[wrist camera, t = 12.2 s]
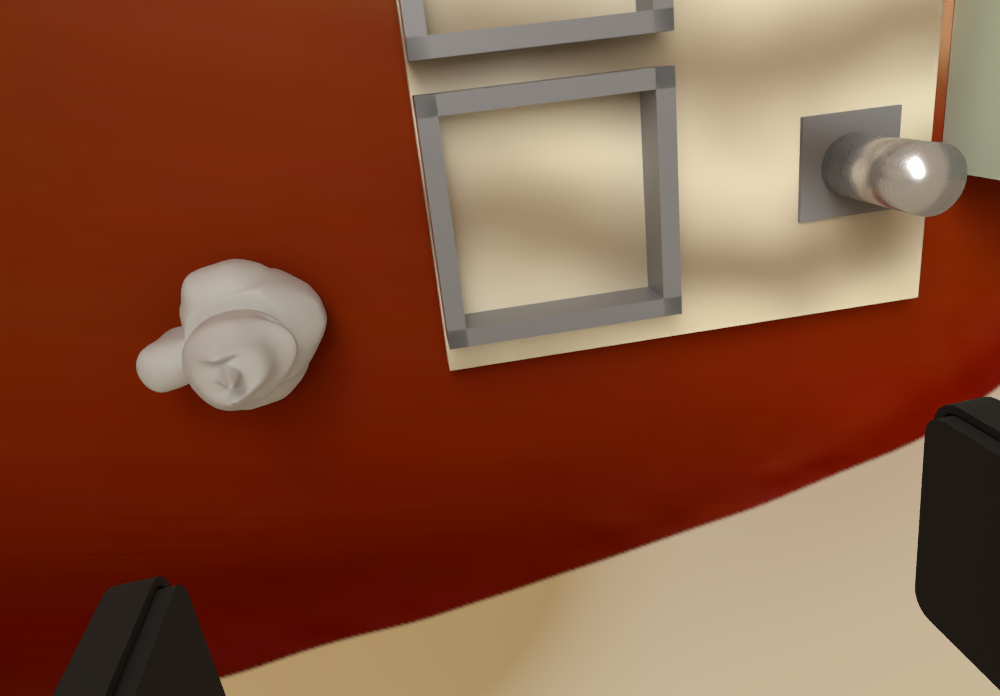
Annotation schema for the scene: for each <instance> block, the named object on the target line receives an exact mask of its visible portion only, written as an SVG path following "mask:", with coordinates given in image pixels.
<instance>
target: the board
mask: <svg viewBox="0 0 1000 696" xmlns="http://www.w3.org/2000/svg"><path fill="white" fill-rule="evenodd" d="M673 4H674V30H673V31H667V32H660V33H653V34H644V35H636V36H627V37H618V38H610V39H601V40H593V41H584V42H575V43H567V44H558V45H550V46H541V47H532V48H524V49H515V50H507V51H498V52H489V53H481V54H472V55H464V56H455V57H446V58H438V59H429V60H421V61H412V62H407V58H406V51H405V44H404V37H403V30H402V23H401V16H400V9H399V2H398V0H396V6H397V13H398V20H399V27H400V34H401V41H402V48H403V55H404V62H405V69H406V76H407V82H408V89H409V96H410V103H411V110H412V117H413V124H414V131H415V138H416V145H417V152H418V159H419V166H420V173H421V180H422V186H423V193H424V200H425V207H426V214H427V221H428V228H429V235H430V242H431V249H432V256H433V263H434V270H435V277H436V283H437V290H438V297H439V304H440V311H441V318H442V325H443V332H444V339H445V346H446V353H447V360H448V364H449V369H450V371H453V370H459V369H466V368H472V367H478V366H485V365H491V364H497V363H504V362H510V361H516V360H523V359H529V358H535V357H542V356H548V355H554V354H561V353H567V352H573V351H580V350H586V349H593V348H599V347H605V346H612V345H618V344H624V343H631V342H637V341H643V340H650V339H656V338H662V337H669V336H675V335H681V334H688V333H694V332H700V331H707V330H713V329H720V328H726V327H732V326H739V325H745V324H751V323H758V322H764V321H770V320H777V319H783V318H789V317H796V316H802V315H808V314H815V313H821V312H827V311H834V310H840V309H847V308H853V307H859V306H866V305H872V304H878V303H885V302H891V301H897V300H904V299H910V298H916V297H918V290H919V279H920V267H921V256H922V244H923V232H924V221H925V217H922V216H917V215H914V214H910V213H906V212H902V211H898V210H894V209H891V208H887V207H883V206H879V205H875V204H872V203H868V202H864V201H860V200H856V199H852V198H849V197H845V196H841V195H837V194H835V193H833V192H831V191H830V190H829V189H828V188H827V187H826V185H825V184H824V181H823V179H822V174H821V166H822V161H823V157H824V155H825V153H826V151H827V149H828V148H829V147H830V145H831V144H832V143H833V142H834V141H835V140H837V139H838V138H839V137H841V136H843V135H845V134H849V133H864V134H873V135H881V136H889V137H898V138H906V139H914V140H922V141H931V140H932V128H933V116H934V105H935V93H936V82H937V70H938V58H939V47H940V35H941V23H942V12H943V0H673ZM423 6H424V13H425V21H426V29H427V35H436V34H444V33H453V32H462V31H471V30H480V29H489V28H497V27H506V26H515V25H524V24H533V23H542V22H551V21H559V20H568V19H577V18H586V17H595V16H604V15H612V14H621V13H630V12H636V0H423ZM669 65H675V77H676V113H677V149H678V186H679V222H680V259H681V295H682V314H677V315H671V316H664V317H658V318H651V319H645V320H638V321H632V322H625V323H619V324H613V325H606V326H600V327H593V328H587V329H580V330H574V331H567V332H561V333H554V334H548V335H541V336H535V337H529V338H522V339H516V340H509V341H503V342H496V343H490V344H483V345H477V346H470V347H464V348H457V349H451V350H450V348H449V344H448V340H447V336H446V330H445V323H444V316H443V309H442V302H441V295H440V288H439V281H438V274H437V267H436V260H435V253H434V246H433V239H432V232H431V225H430V218H429V211H428V204H427V197H426V190H425V183H424V176H423V169H422V162H421V155H420V148H419V141H418V134H417V127H416V121H415V114H414V107H413V100H412V95H420V94H428V93H437V92H445V91H453V90H462V89H470V88H478V87H486V86H495V85H503V84H511V83H520V82H528V81H536V80H544V79H553V78H561V77H569V76H578V75H586V74H594V73H602V72H611V71H619V70H627V69H636V68H644V67H652V66H669ZM438 119H439V126H440V134H441V141H442V149H443V157H444V164H445V172H446V179H447V187H448V194H449V202H450V209H451V217H452V224H453V232H454V239H455V247H456V254H457V262H458V269H459V277H460V284H461V292H462V300H463V307H464V314H468V313H475V312H482V311H488V310H495V309H502V308H508V307H515V306H522V305H528V304H535V303H542V302H548V301H555V300H562V299H568V298H575V297H582V296H588V295H595V294H602V293H608V292H615V291H622V290H628V289H635V288H641V287H648V275H647V252H646V229H645V206H644V183H643V160H642V137H641V114H640V91H639V92H631V93H623V94H615V95H607V96H599V97H591V98H583V99H575V100H567V101H559V102H550V103H542V104H534V105H526V106H518V107H510V108H502V109H494V110H486V111H478V112H470V113H462V114H454V115H445V116H438Z"/></svg>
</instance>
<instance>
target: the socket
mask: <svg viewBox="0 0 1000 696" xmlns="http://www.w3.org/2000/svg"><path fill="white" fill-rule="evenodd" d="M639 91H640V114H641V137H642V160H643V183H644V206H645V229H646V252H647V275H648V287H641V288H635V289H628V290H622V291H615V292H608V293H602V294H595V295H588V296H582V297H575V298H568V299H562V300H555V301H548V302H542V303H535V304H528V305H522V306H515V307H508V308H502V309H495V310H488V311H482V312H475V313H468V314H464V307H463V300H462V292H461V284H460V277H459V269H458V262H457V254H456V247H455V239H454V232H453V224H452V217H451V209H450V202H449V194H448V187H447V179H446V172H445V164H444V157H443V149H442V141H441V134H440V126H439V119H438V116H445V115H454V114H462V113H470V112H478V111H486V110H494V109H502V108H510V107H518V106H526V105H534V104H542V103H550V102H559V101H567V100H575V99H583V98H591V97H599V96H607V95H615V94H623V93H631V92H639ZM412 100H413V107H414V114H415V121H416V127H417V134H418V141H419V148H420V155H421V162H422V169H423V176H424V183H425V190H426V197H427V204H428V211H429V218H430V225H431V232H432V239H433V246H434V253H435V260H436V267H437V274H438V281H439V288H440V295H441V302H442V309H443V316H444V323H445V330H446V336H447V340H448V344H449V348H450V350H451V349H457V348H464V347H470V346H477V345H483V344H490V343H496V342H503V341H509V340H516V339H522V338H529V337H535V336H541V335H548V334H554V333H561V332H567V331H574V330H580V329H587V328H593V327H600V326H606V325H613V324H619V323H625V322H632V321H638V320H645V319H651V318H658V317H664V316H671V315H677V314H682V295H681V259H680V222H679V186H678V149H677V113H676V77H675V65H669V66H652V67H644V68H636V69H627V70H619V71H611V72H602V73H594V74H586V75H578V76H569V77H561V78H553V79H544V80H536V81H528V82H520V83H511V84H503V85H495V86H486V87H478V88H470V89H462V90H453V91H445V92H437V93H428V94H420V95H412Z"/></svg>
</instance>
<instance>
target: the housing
mask: <svg viewBox="0 0 1000 696" xmlns="http://www.w3.org/2000/svg"><path fill="white" fill-rule="evenodd" d="M942 143H946V144H950V145H953V146H954V147H956V148H957V149H958V150H960V152H961V153H962V154H963V156H964V158H965V160H966V164H967V175H972V176H978V177H984V178H990V179H996V180H1000V0H955V7H954V18H953V29H952V40H951V51H950V63H949V74H948V85H947V96H946V108H945V119H944V130H943V141H942Z"/></svg>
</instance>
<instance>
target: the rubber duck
mask: <svg viewBox="0 0 1000 696" xmlns="http://www.w3.org/2000/svg"><path fill="white" fill-rule="evenodd" d="M180 320H181V324H182V326H180V327H176V328H173V329H171V330H168V331H167V332H166V333H164V334H163V335H162V336H161V337H160V338H159V339H158V340H156V341H155V342H153V343H151V344H150V345H148V346H147V347H145V348H144V349H143V350H142V351H141V352H140V354H139V356H138V358H137V362H136V369H137V373H138V376H139V378H140V379H141V381H142V382H143V383H144V384H145V385H146V386H147V387H148V388H149V389H151V390H153V391H156V392H163V393H164V392H168V391H171V390H174V389H177V388H180V387H183V386H185V385H187V384H190V386H191V387H192V389H193V390H194V391H195V392H196V393H197V394H198V395H199V397H201V398H202V399H203V400H204V401H205V402H207V403H208V404H210V405H212V406H213V407H215V408H217V409H221V410H225V411H235V410H251V409H254V408H258V407H261V406H264V405H267V404H270V403H273V402H276V401H279V400H281V399H283V398H285V397H286V396H287V395H288V394H289V393H290V392H291V391H292V390H293V389H294V388H295V387H296V386H297V385H298V383H299V382H300V381H301V379H302V378H303V376H304V374H305V373H306V371H307V368H308V365H309V362H310V361H311V359H312V358H313V356H314V354H315V352H316V350H317V348H318V346H319V343H320V341H321V339H322V337H323V335H324V332H325V329H326V324H327V314H326V311H325V308H324V306H323V303H322V301H321V299H320V297H319V296H318V294H317V293H316V292H315V291H314V290H313V289H312V288H311V286H310V285H309V284H307V283H305V282H304V281H302V280H300V279H298V278H296V277H294V276H293V275H291V274H289V273H287V272H284V271H282V270H279V269H276V268H268V267H267V266H265V265H263V264H260V263H257V262H253V261H249V260H244V259H229V260H225V261H222V262H218V263H215V264H212V265H209V266H206V267H203V268H200V269H198V270H196V271H194V272H192V273H190V274H189V275H188V276H187V277H186V278H185V280H184V282H183V284H182V288H181V305H180Z"/></svg>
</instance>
